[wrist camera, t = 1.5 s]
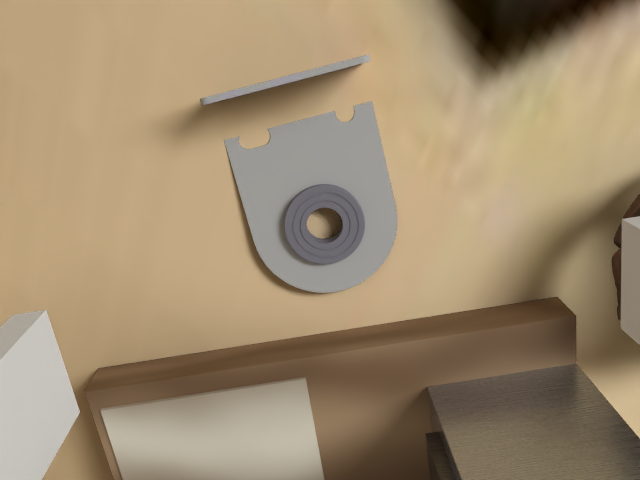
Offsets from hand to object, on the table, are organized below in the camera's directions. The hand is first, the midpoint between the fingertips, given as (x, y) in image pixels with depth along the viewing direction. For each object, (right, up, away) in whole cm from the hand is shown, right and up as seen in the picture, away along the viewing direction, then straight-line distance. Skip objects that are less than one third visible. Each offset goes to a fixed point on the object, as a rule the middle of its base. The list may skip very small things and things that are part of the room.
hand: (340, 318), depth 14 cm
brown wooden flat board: (+1, -9, +18) cm, 20 cm away
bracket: (-1, +5, +13) cm, 14 cm away
